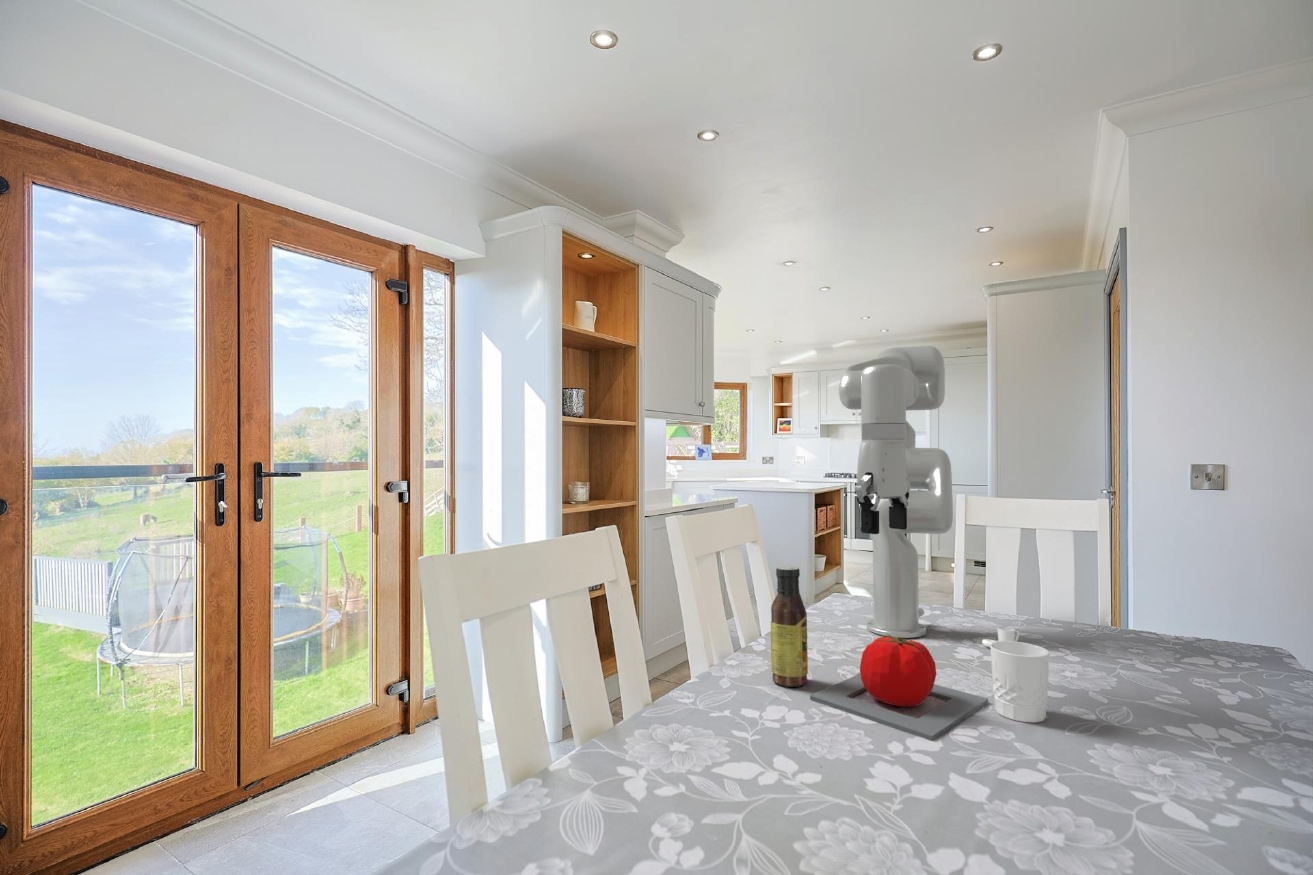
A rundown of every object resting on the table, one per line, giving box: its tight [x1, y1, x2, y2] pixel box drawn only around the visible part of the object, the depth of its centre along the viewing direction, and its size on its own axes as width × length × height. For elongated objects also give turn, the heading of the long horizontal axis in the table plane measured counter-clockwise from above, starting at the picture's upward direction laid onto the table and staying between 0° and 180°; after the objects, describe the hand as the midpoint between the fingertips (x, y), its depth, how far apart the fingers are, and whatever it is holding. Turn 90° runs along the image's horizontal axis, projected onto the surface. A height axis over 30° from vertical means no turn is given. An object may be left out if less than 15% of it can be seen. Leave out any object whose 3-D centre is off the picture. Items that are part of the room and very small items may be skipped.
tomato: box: [859, 634, 937, 708], centre depth 103 cm, size 12×12×10 cm
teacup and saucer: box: [981, 626, 1020, 649], centre depth 132 cm, size 9×8×4 cm
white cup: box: [989, 641, 1050, 724], centre depth 98 cm, size 8×8×10 cm
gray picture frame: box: [809, 673, 989, 741], centre depth 103 cm, size 20×20×1 cm
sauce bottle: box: [770, 565, 809, 688], centre depth 112 cm, size 6×6×20 cm
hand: (884, 530), depth 113 cm, fingers open, 9 cm apart
